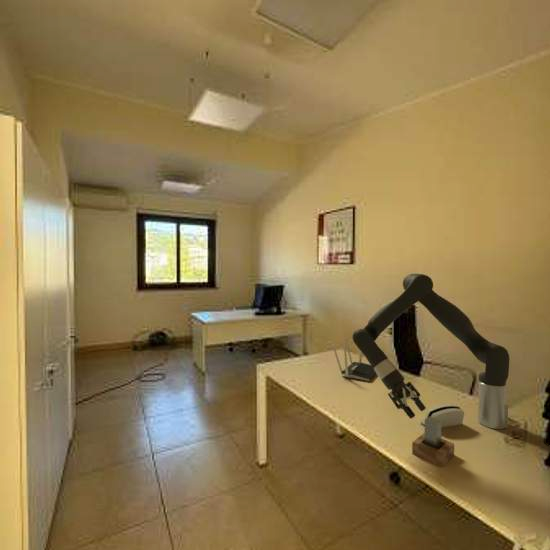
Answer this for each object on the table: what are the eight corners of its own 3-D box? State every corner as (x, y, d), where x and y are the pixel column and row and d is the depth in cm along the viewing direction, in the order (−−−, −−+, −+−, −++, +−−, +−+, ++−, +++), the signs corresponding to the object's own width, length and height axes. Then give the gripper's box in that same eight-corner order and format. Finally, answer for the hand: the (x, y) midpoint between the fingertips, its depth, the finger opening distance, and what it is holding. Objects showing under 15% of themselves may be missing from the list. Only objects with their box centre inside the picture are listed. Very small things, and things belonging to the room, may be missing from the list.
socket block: (424, 442, 117) (424, 432, 117) (454, 454, 110) (454, 443, 110) (412, 453, 111) (412, 442, 111) (442, 467, 103) (442, 454, 103)
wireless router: (367, 385, 174) (367, 349, 174) (328, 378, 187) (327, 344, 186) (382, 368, 203) (382, 337, 202) (347, 363, 215) (347, 333, 215)
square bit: (429, 449, 113) (429, 416, 113) (441, 454, 110) (441, 420, 110) (424, 454, 110) (424, 420, 110) (436, 459, 107) (436, 424, 107)
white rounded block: (452, 418, 136) (459, 400, 132) (461, 427, 131) (468, 408, 128) (419, 423, 132) (424, 404, 128) (426, 432, 127) (432, 413, 124)
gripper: (385, 373, 115) (417, 415, 107) (404, 364, 124) (434, 402, 116) (372, 383, 119) (401, 424, 111) (391, 374, 129) (419, 412, 120)
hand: (418, 413), depth 114 cm, fingers open, 8 cm apart
